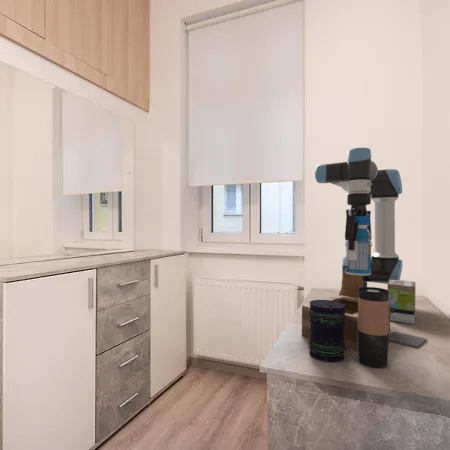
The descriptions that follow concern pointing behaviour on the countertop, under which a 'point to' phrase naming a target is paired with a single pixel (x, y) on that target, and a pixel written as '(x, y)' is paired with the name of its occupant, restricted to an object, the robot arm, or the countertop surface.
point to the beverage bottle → (360, 250)
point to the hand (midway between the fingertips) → (358, 259)
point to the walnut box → (350, 320)
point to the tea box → (402, 300)
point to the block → (351, 284)
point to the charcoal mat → (406, 339)
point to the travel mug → (373, 326)
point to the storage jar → (327, 330)
